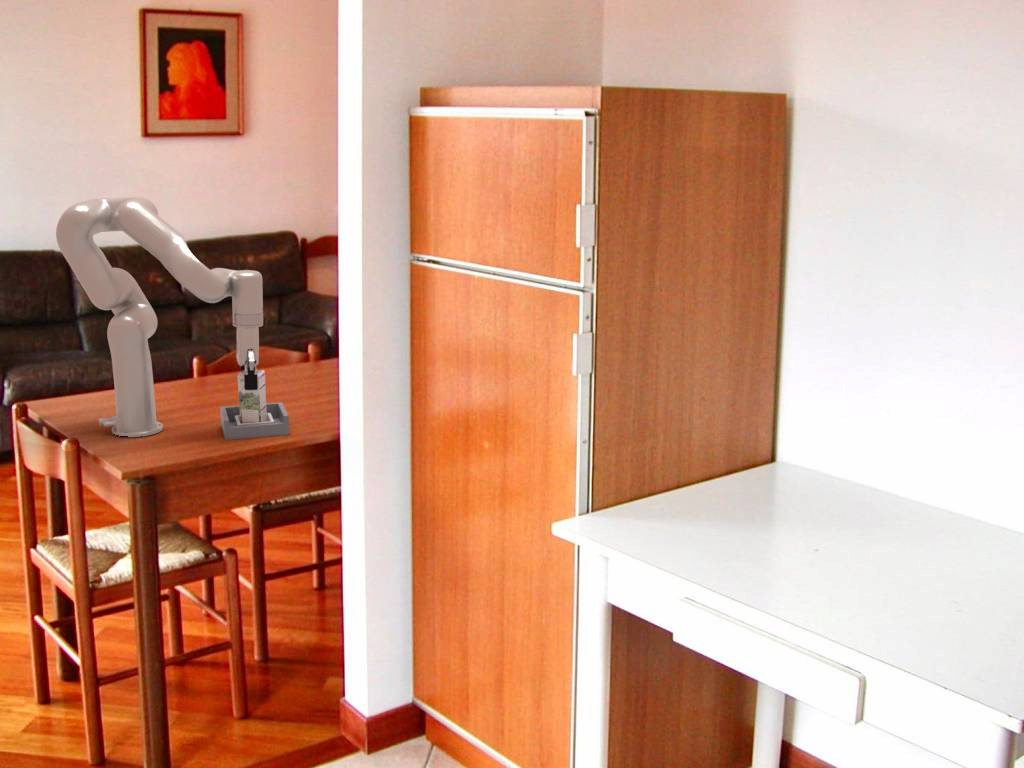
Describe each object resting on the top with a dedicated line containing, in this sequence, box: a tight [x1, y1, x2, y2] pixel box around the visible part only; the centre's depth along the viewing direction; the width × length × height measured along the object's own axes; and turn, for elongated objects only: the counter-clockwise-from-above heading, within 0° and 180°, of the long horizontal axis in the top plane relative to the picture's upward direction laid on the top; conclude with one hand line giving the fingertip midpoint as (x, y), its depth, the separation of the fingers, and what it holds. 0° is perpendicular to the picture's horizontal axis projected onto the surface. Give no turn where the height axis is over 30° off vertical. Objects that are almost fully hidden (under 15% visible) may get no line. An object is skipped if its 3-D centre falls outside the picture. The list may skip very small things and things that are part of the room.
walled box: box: [219, 401, 290, 441], centre depth 305 cm, size 16×14×5 cm
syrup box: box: [237, 369, 267, 424], centre depth 303 cm, size 6×6×14 cm
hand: (249, 385), depth 302 cm, fingers open, 9 cm apart
